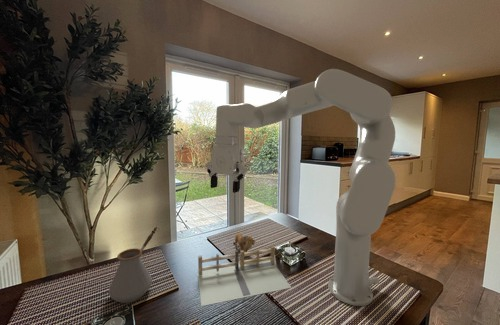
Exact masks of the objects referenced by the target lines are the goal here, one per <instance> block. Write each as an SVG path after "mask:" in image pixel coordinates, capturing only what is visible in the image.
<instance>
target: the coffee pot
mask: <svg viewBox="0 0 500 325" xmlns="http://www.w3.org/2000/svg"><path fill="white" fill-rule="evenodd" d="M157 229H158V232H160V231H161V230H160V228H159V227H157V226H155V227H154V228H153V230H152V231H151V232H150V234H149V235H148V236H147V238H146V240H145V241H144V243H143V244H142V247H141V248H135V247H134V248H128V249H125V250H123V251H121V252H119V253H118V254H117V256H116V258H117V259H118V260H119V264H118V267H117V270H116V272H115V275H114V276H113V278H112V281H111V284H110V286H109V289H108V294H109V295H108V296H109V297H110V298H111V299H112V300H113V301H115V302H118V303H122V304H128V303H133V302H135V301H137V300H139V299H140V298H143V296H144V295H145V294H146V293H147V292H148V291H149V290H150V288H151V286H152V282H153V279H152V276H151V274H150V273H149V270H148V269H147V267H146V266H145V264H144V263H143V261H142V259H141V256H142V253H143V251H144V250H145V248H146V247H147V245H148V244H149V242H150V241H151V239H152V238H153V236H154V235H155V234H156V232H157Z"/></svg>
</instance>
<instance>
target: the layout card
mask: <svg viewBox="0 0 500 325" xmlns="http://www.w3.org/2000/svg"><path fill="white" fill-rule="evenodd" d="M256 265H257V262H256V263H249V264H244V269H242V270H241V268H240V262H239V268H238V269H235V266H231V267H224V268H219V271H217V269H212V270H206V271H202V275H199V272H198V271H197V276H198V277H197V278H198V288H199V298H200V306H201V307H203V306H209V305H213V304H217V303H218V304H219V303H223V302H228V301H229V302H230V301H232V300H237V299H242V298H248V297H253V296H257V295H263V294H267V293H272V292H276V291H277V292H278V291H282V290H287V289H291V288H292V286H291V285H290V283H289V281H287V279H286V278H285V277H284V275H283V274H282V272H281V270H280V269H279V268H278V267H277V265H276V263H275V264H271V263H270V260H268V261H262V262H259V266H256Z"/></svg>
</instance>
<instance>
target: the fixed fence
mask: <svg viewBox="0 0 500 325" xmlns="http://www.w3.org/2000/svg"><path fill="white" fill-rule="evenodd" d="M263 254H270V255H269V256H263V257H260V255H263ZM275 254H276V247H275V245H272V246H270V248H266V249H256V250H253V251H247V252H245V250H242V251H241V250H240V251H239V263H240V268H241V270H242V269H244V264H249V263H256V262H257V265H256V266H259V262H262V261H268V260H270V263H271V264H275V265H276V263H275V261H276V255H275ZM255 255H256V258H252V259H251V258H250V259H245V257H249V256H255Z"/></svg>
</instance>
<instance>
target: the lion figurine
mask: <svg viewBox="0 0 500 325" xmlns="http://www.w3.org/2000/svg"><path fill="white" fill-rule="evenodd" d="M234 241H235V242H233V245H234V249H235V250H238V246H239V247H240V251H242V250H244V253H245V252H249V250H250V249H251V248H252V246H254V245H255V243H256V240H255V239H253V238H252V236H251V235H244V236H243V233H239V232H238V233H236V235H235V239H234Z"/></svg>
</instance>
